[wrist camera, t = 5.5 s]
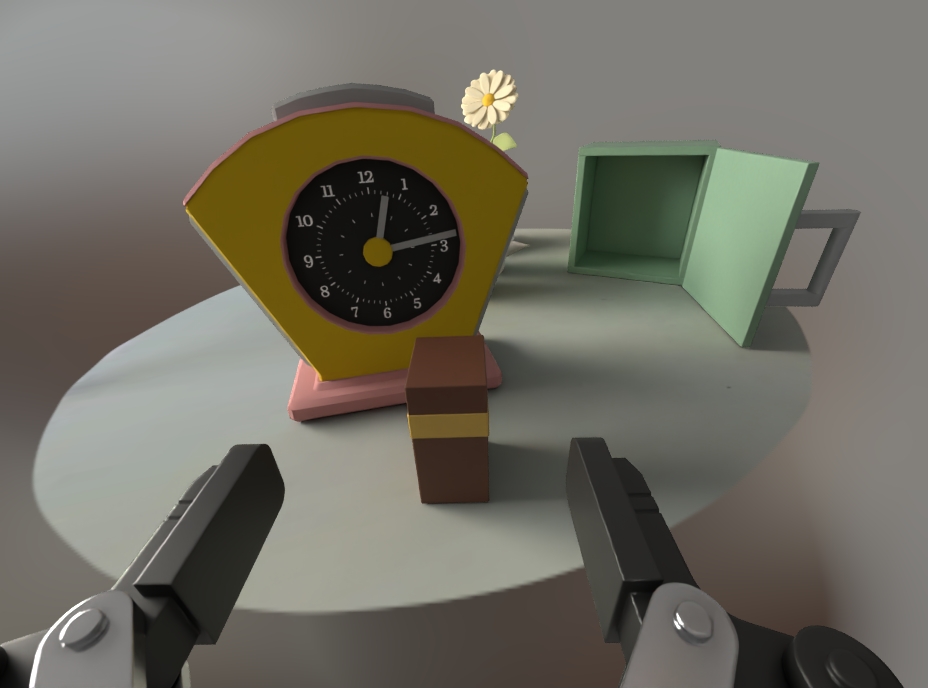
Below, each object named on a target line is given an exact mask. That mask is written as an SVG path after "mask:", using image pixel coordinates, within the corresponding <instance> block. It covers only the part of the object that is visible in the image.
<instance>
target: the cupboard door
mask: <svg viewBox="0 0 928 688" xmlns="http://www.w3.org/2000/svg"><path fill="white" fill-rule="evenodd" d="M818 166H819V162H812V161H806V160H799V159H793V158H787V157H780V156H774V155H767V154H761V153H755V152H748V151H742V150H736V149H730V148H717V152H716V156H715V160H714V163H713V167H712V171H711V175H710V179H709V183H708V187H707V191H706V195H705V199H704V203H703V207H702V211H701V215H700V219H699V223H698V226H697V230H696V234H695V238H694V242H693V246H692V250H691V254H690V258H689V262H688V266H687V270H686V274H685V278H684V282H683V286H682V287H683V288H684V289H685V290H686V291H687V292H688V293H689V294H690V295H691V296H692V297H693V298H694V299H695V300H696V301H697V302H698V303H699V304H700V305H701V306H702V307H703V308H704V309H705V310H706V312H707V313H708V314H709V315H710V316H711V317H712V318H713V319H714V320H715V321H716V322H717V323H718V324H719V325H720V326H721V327H722V328H723V329H724V330H725V331H726V332H727V333H728V334H729V335H730V336H731V337H732V338H733V339H734V340H735V341H736V342H737V343H738V344H739V345H740V346H741V347H750V346H751V343H752V341H753V338H754V335H755V333H756V330H757V327H758V325H759V322H760V319H761V317H762V314H763V312H764V309H765V306H818V305H819V303H820V301H821V299H822V297H823V295H824V293H825V290H826V288H827V286H828V284H829V282H830V279H831V277H832V275H833V273H834V270H835V268H836V266H837V264H838V262H839V259H840V257H841V255H842V253H843V250H844V248H845V246H846V244H847V242H848V240H849V237H850V235H851V233H852V231H853V229H854V226H855V224H856V222H857V220H858V218H859V215H860V213H861V212H860V211H858V210H850V209H846V210H845V209H844V210H802V209H803V206H804V203H805V201H806V198H807V195H808V193H809V190H810V187H811V185H812V182H813V180H814V177H815V174H816V171H817V169H818ZM799 228H800V229H802V228H833V230H832V232H831V234H830V237H829V239H828V241H827V244H826V246H825V248H824V251H823V253H822V255H821V258H820V260H819V262H818V265H817V267H816V270H815V272H814V274H813V277H812V279H811V281H810V283H809V286H808V288H807V289H772V287H773V285H774V282H775V280H776V277H777V275H778V272H779V269H780V267H781V264H782V261H783V259H784V256H785V253H786V251H787V248H788V245H789V243H790V240H791V237H792V235H793V232H794V229H799Z"/></svg>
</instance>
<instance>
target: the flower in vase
mask: <svg viewBox="0 0 928 688" xmlns="http://www.w3.org/2000/svg"><path fill="white" fill-rule="evenodd" d="M514 83H515V79H511V75H506V74H504V73H503V71H499V72H496V71H495V70H492V71H491V72H490V74H486V73H482V74H481V75H480V79H478V80H473V81H472V82H471V86H470V87H467V88H466V90H465V93H466V95H465V97H464V98H463V99H462V102H463V104H462V105H461V107H462V109H463V115H465V116H466V117H465V119H464V121H465V122H466V123H468V124H472V126H473V127H476V126H478V128H479V129H483V130H484V129H486V128H491V127H492V126H493V136H492V139H491V141H490V142H491V143H492V142H493V144H494V145H496V146H498V147H499V148H500V149H501V150H502V151H504V150H507V149H510V148H514V147H517V145H516V143H515V142H514V140H513V139H512V137H511V136H510V135H509V134H507V133H502V134H500V135H498V136H496V137H495V123H497V124H500V123H501V122H502V121H504V120H505V119H506V118H507V117H508V116H509V110H512V109H513V108H514V103H515V102H516V99H517V98H518V93H514V92H515V91H516V89H517V87H516V86H514ZM494 137H495V138H494ZM513 239H514V234H513V237H512V239H511V240H513Z"/></svg>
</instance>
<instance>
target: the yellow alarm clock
mask: <svg viewBox="0 0 928 688" xmlns="http://www.w3.org/2000/svg"><path fill="white" fill-rule="evenodd" d="M271 111H272V115H273V119H274V122H272V123H270V124H268V125H266V126H263V127H261V128H259V129H256V130H254V131H252V132H249V133H248V134H247V135H245V136H244V137H243V138H242V139H241V140H240V141H238V142H237V143H236V144H235V145H234V146H232V147H231V148H230V149H229V150H228V151H226V152H225V153H224V154H223V155H222V156H221V157H219V158H218V159H217V160H216V161H215V162H213V163H212V164H211V165H210V166H209V167H208V169H207V170H206V171H205V172H204V174H203V175H202V176H201V178H200V179H199V180H198V182H197V183H196V184H195V185H194V187H193V188H192V189H191V191H190V192H189V193H188V194H187V196H186V197H185V198H184V200H183V203H184V206H186V208H187V209H186V212H187V213H188V214H189V222H190V223H191V225H192V226H193V227H194V228H195V229H196V231H197V232H198V233H199V234H200V235H201V237H202V238H203V239H204V240H205V242H206V243H207V244H208V245H209V247H210V248H211V249H212V250H213V251H214V253H215V254H216V255H217V256H218V258H219V259H220V260H221V261H222V262H223V264H224V265H225V266H226V267H227V268H228V270H229V271H230V272H231V273H232V275H233V276H234V277H235V278H236V279H237V281H238V282H239V283H240V284H241V286H242V287H243V288H244V289H245V290H246V292H247V293H248V294H249V295H250V297H251V298H252V299H253V300H254V301H255V303H256V304H257V305H258V306H259V308H260V309H261V310H262V311H263V312H264V314H265V315H266V316H267V317H268V319H269V320H270V321H271V322H272V323H273V325H274V326H275V327H276V328H277V330H278V331H279V332H280V333H281V334H282V336H283V337H284V338H285V339H286V340H287V342H288V343H289V344H290V345H291V347H292V348H293V349H294V350H295V351H296V353H297V354H298V355H299V356H300V358H301V359H300V362H299V366H298V370H297V374H296V377H295V381H294V385H293V388H292V392H291V396H290V400H289V403H288V407H287V409H288V413H289V416H290V418H291V419H293V420H295V421H303V420H309V419H315V418H321V417H326V416H332V415H338V414H344V413H350V412H356V411H362V410H368V409H373V408H379V407H385V406H391V405H397V404H403V403H407V402H406V396H405V389H404V387H405V383H406V379H407V375H408V370H409V366H410V362H411V357H412V353H413V349H414V344H415V340H416V338H417V337H443V336H472V335H481V334H480V332H479V328H480V325H481V322H482V319H483V317H484V314H485V311H486V308H487V305H488V303H489V300H490V297H491V294H492V292H493V289H494V286H495V283H496V281H497V278H498V275H499V272H500V270H501V267H502V264H503V261H504V259H505V256H506V253H507V250H508V248H509V245H510V242H511V239H512V237H513V234H514V231H515V228H516V226H517V223H518V220H519V217H520V215H521V212H522V209H523V206H524V203H525V201H526V198H527V195H528V190H527V184H528V182H527V179H528V175H527V173H526V172H525V171H524V170H523V169H522V168H521V167H519V166H518V165H517V164H516V163H515V162H514V161H513V160H512V159H511V158H509V156H507V155H506V154H505V153H504V152H503V151H502V150H501V149H500V148H499V147H498V146H496V145H494V144H493V143H491V142H490V141H488V140H487V139H485V138H483V137H482V136H480V135H479V134H477V133H475V132H474V131H472V130H471V129H469V128H467V127H466V126H464V125H462V124H461V123H459V122H457V121H454V120H451V119H448V118H445V117H442V116H439V115H435V113H434V102H433V101H432V99H430V97H427V96H424V95H421V94H418V93H415V92H411V91H408V90H405V89H399V88H393V87H387V86H381V85H370V84H355V83H349V84H343V85H335V86H329V87H323V88H319V89H315V90H310V91H306V92H302V93H298V94H296V95H293V96H291V97H289V98H286V99H284V100H282V101H279V102H277V103H275V104H274V105H273V107H272V108H271ZM484 348H485V361H486V375H487V389H491V388H497V387H498V386H499V385H500V384H501V383H502V372H501V370H500V369H499V367H498V365H497V363H496V361H495V359H494V358H493V356H492V354H491V352H490V350H489V348H488V347H487V345H486V343H485V341H484Z"/></svg>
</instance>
